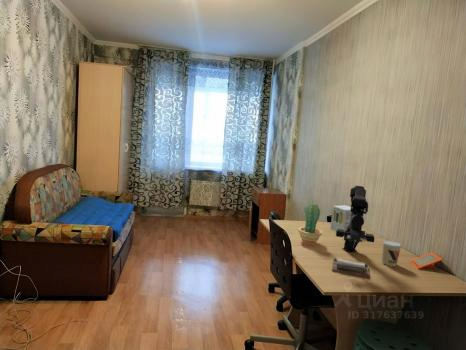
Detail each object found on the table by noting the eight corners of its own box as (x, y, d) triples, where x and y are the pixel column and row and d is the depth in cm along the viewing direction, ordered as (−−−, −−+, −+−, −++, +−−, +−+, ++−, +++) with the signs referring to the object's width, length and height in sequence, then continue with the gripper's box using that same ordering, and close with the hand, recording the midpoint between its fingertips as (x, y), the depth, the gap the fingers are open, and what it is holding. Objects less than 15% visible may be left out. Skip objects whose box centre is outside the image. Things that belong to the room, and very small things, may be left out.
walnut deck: (333, 261, 201) (333, 257, 201) (367, 267, 196) (368, 264, 196) (332, 271, 187) (332, 266, 187) (369, 278, 182) (369, 273, 182)
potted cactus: (319, 240, 239) (324, 202, 236) (323, 247, 224) (327, 208, 221) (295, 237, 241) (300, 200, 237) (297, 244, 225) (302, 205, 222)
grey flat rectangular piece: (337, 260, 199) (337, 256, 199) (364, 265, 196) (364, 261, 195) (336, 267, 188) (337, 263, 188) (365, 272, 184) (365, 268, 184)
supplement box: (329, 228, 270) (332, 205, 268) (342, 227, 277) (345, 205, 274) (342, 234, 259) (345, 210, 256) (356, 232, 265) (359, 209, 263)
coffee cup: (387, 267, 200) (390, 246, 198) (376, 260, 209) (379, 240, 207) (401, 266, 202) (404, 246, 201) (390, 260, 211) (393, 240, 210)
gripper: (337, 223, 183) (333, 252, 185) (377, 229, 177) (372, 259, 180) (337, 218, 193) (334, 246, 195) (375, 223, 188) (371, 252, 190)
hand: (352, 251), depth 190 cm, fingers closed
